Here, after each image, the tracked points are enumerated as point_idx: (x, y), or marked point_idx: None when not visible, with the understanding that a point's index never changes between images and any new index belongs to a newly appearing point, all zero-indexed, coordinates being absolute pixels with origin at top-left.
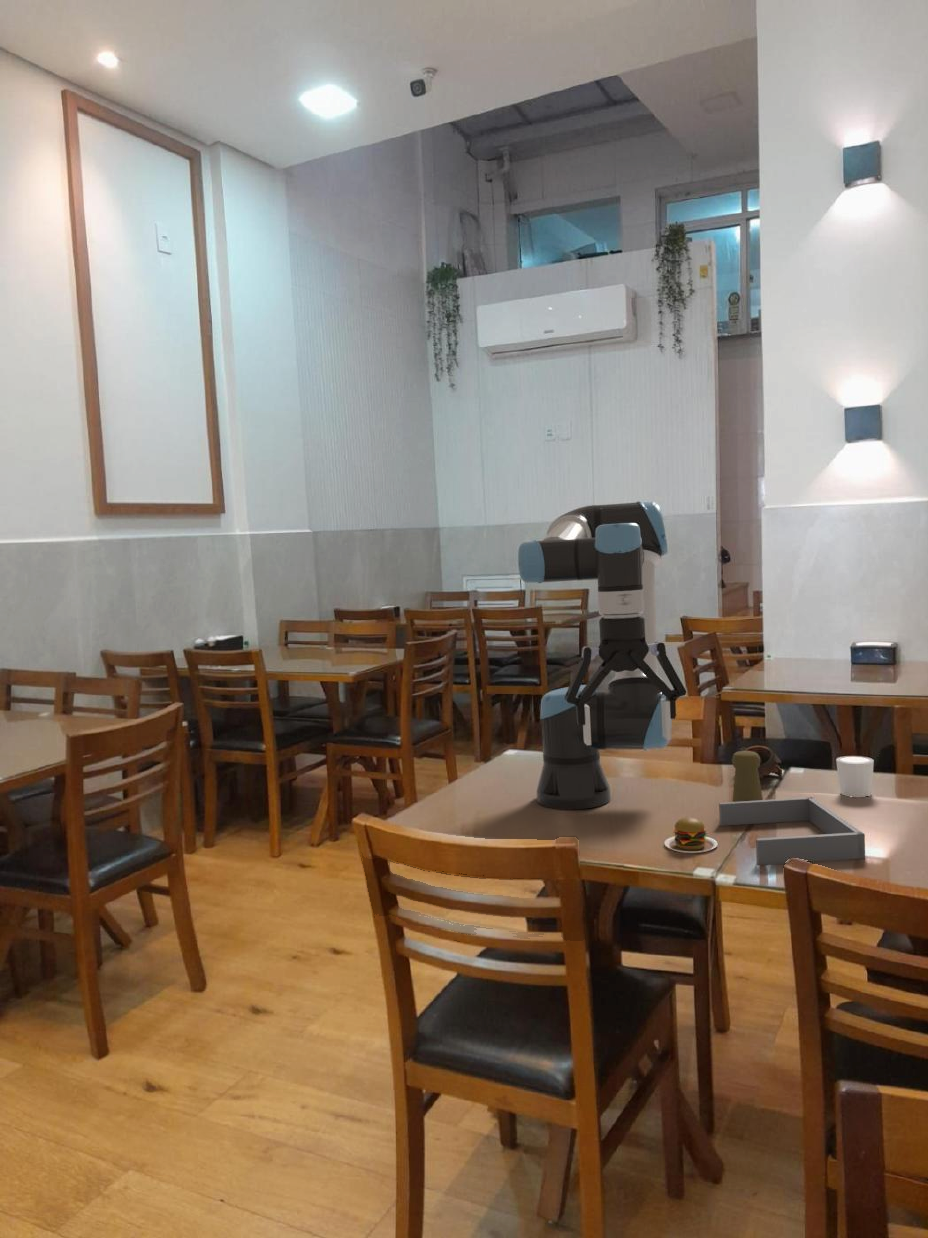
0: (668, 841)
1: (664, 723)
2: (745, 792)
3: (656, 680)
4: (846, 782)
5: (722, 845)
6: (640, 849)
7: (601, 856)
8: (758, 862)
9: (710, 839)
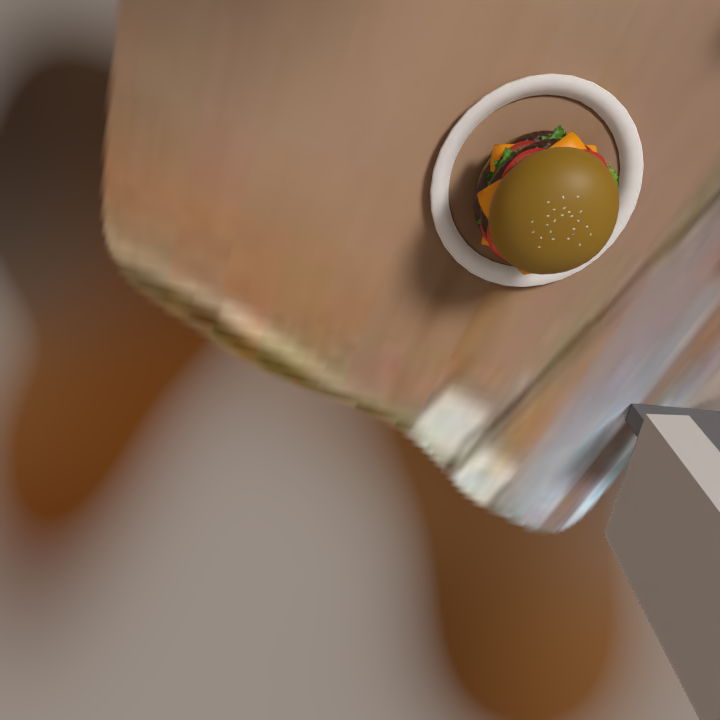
0: (469, 124)
1: (691, 601)
2: None
3: None
4: None
5: (643, 216)
6: (328, 166)
7: (153, 201)
8: (629, 423)
9: (634, 162)
